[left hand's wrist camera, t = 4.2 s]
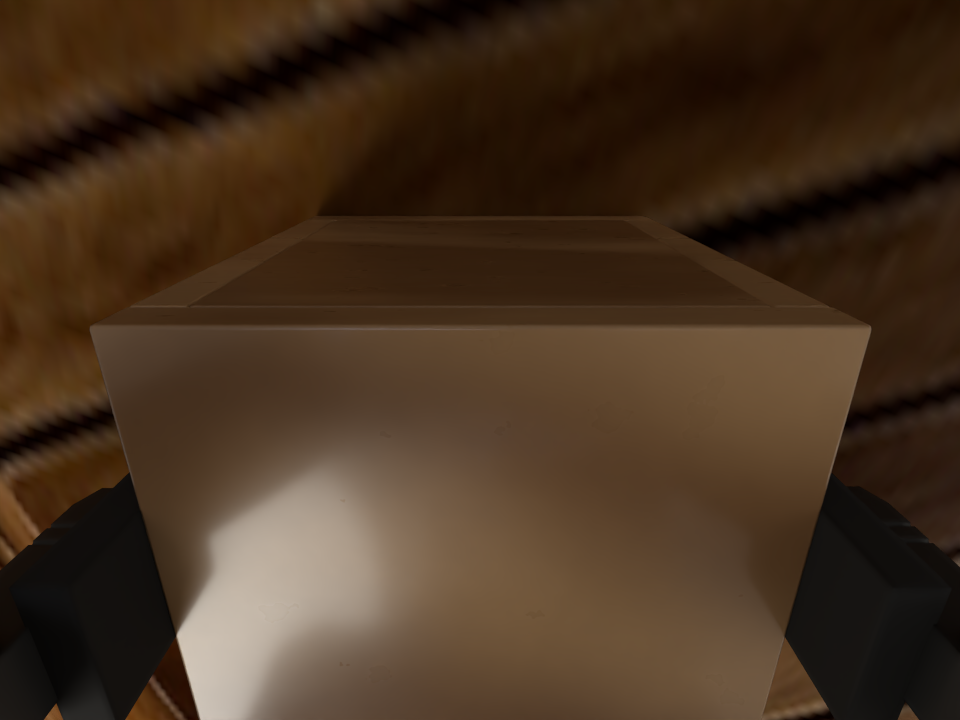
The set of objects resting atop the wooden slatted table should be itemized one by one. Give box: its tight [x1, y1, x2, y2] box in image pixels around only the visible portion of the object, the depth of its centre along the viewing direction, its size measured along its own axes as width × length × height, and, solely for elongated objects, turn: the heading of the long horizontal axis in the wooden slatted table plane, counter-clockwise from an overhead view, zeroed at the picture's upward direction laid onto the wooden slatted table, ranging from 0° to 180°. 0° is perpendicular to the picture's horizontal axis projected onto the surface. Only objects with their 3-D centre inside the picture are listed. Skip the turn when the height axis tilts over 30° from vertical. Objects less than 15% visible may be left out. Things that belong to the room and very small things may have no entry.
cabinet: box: [90, 216, 871, 720], centre depth 16 cm, size 17×11×11 cm, turn 0°
